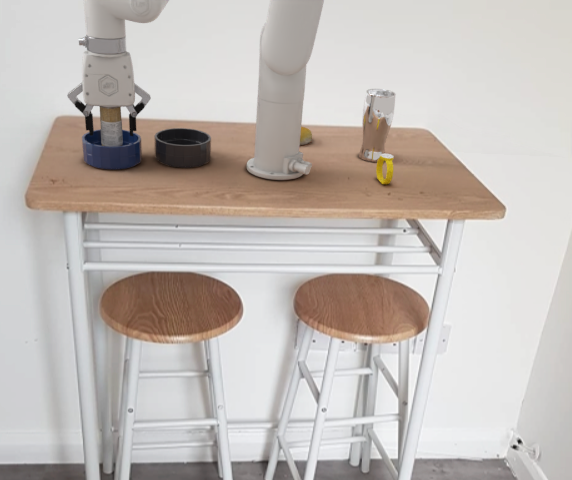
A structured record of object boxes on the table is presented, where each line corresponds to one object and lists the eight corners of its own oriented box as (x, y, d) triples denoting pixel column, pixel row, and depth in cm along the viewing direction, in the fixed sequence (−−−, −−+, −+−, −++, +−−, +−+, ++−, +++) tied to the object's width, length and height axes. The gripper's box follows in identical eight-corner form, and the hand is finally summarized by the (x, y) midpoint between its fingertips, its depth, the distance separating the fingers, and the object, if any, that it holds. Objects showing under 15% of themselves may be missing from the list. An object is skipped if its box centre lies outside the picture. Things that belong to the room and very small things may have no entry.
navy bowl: (153, 161, 152) (152, 138, 150) (110, 175, 144) (108, 151, 141) (115, 147, 158) (114, 125, 156) (71, 159, 150) (69, 136, 147)
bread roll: (293, 148, 167) (295, 131, 165) (269, 137, 173) (270, 121, 171) (319, 142, 172) (321, 126, 170) (295, 132, 177) (296, 116, 175)
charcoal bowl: (221, 160, 157) (222, 137, 154) (183, 172, 148) (183, 149, 145) (182, 146, 162) (182, 124, 160) (143, 158, 154) (142, 135, 151)
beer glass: (358, 151, 169) (367, 86, 161) (387, 155, 168) (397, 90, 160) (355, 160, 163) (363, 94, 155) (385, 164, 162) (395, 98, 154)
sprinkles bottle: (111, 153, 153) (107, 90, 146) (128, 158, 152) (125, 94, 145) (97, 159, 150) (93, 94, 143) (114, 164, 148) (111, 99, 141)
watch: (371, 177, 154) (375, 150, 151) (383, 176, 155) (387, 150, 152) (381, 187, 150) (386, 160, 146) (394, 187, 150) (398, 160, 147)
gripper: (58, 47, 134) (67, 139, 143) (152, 51, 137) (154, 140, 147) (61, 39, 140) (69, 127, 149) (151, 43, 144) (153, 129, 153)
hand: (111, 133), depth 148 cm, fingers open, 7 cm apart
